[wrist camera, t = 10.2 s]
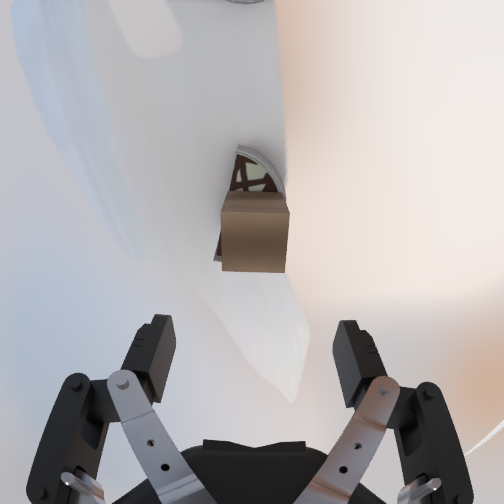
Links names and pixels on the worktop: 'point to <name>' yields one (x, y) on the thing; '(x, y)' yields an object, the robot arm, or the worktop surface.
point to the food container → (252, 178)
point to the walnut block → (254, 232)
